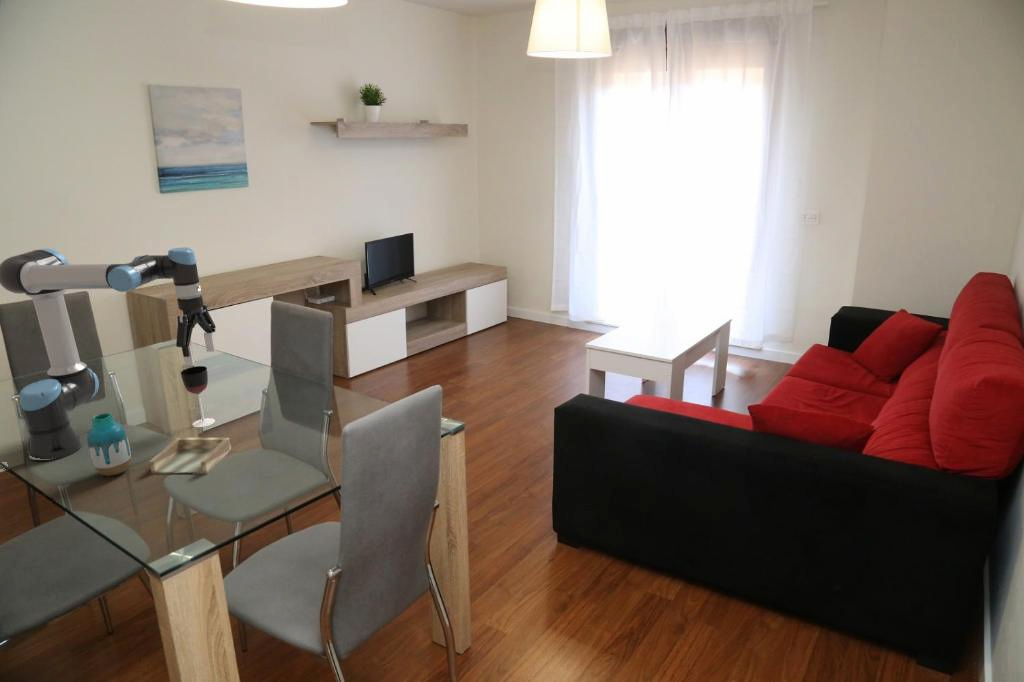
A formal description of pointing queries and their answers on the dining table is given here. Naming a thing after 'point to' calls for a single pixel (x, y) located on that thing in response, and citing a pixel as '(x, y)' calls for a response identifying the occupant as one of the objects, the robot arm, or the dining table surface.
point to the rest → (191, 455)
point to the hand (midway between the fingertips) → (200, 358)
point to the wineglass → (197, 388)
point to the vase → (108, 445)
